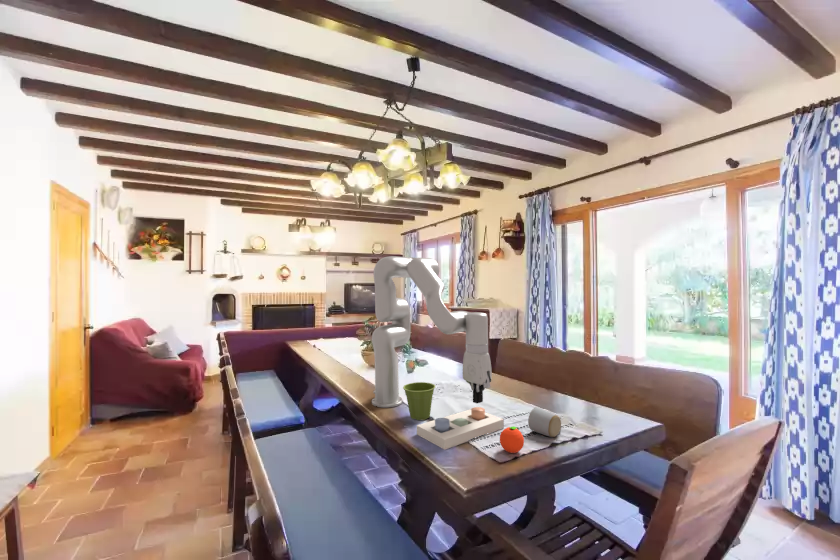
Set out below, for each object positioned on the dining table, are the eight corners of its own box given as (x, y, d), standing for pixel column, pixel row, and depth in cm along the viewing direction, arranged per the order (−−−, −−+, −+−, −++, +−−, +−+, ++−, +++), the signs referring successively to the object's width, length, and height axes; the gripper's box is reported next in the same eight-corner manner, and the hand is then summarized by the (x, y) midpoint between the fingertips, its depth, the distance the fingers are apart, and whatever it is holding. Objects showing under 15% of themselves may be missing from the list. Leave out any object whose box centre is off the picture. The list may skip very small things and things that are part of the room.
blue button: (432, 429, 123) (432, 419, 123) (443, 426, 125) (443, 416, 125) (441, 434, 119) (441, 424, 119) (452, 430, 122) (452, 420, 122)
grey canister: (550, 441, 118) (550, 416, 118) (527, 433, 125) (527, 409, 125) (568, 432, 125) (568, 408, 125) (545, 425, 131) (545, 402, 131)
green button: (451, 429, 127) (451, 420, 127) (461, 426, 130) (461, 417, 130) (460, 434, 124) (460, 424, 124) (470, 430, 126) (470, 421, 126)
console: (416, 434, 125) (416, 425, 125) (474, 416, 140) (474, 408, 140) (444, 449, 114) (444, 439, 114) (503, 428, 129) (503, 419, 129)
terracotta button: (468, 418, 132) (468, 409, 132) (478, 415, 135) (478, 406, 135) (478, 422, 128) (478, 412, 128) (487, 419, 131) (487, 409, 131)
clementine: (508, 443, 117) (507, 420, 117) (529, 449, 113) (529, 425, 113) (495, 452, 111) (495, 428, 111) (517, 459, 107) (517, 434, 107)
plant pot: (423, 409, 149) (423, 380, 149) (442, 418, 139) (441, 387, 139) (397, 415, 142) (397, 385, 142) (415, 425, 132) (414, 393, 132)
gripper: (454, 347, 135) (455, 399, 135) (485, 353, 123) (486, 410, 123) (469, 344, 140) (470, 394, 140) (501, 350, 128) (502, 405, 128)
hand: (477, 402), depth 131 cm, fingers closed
